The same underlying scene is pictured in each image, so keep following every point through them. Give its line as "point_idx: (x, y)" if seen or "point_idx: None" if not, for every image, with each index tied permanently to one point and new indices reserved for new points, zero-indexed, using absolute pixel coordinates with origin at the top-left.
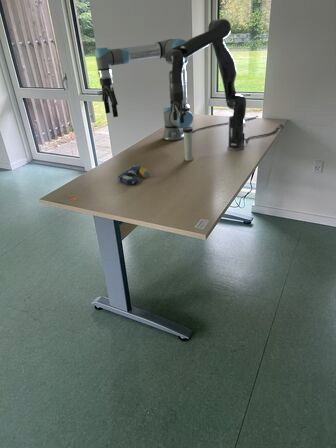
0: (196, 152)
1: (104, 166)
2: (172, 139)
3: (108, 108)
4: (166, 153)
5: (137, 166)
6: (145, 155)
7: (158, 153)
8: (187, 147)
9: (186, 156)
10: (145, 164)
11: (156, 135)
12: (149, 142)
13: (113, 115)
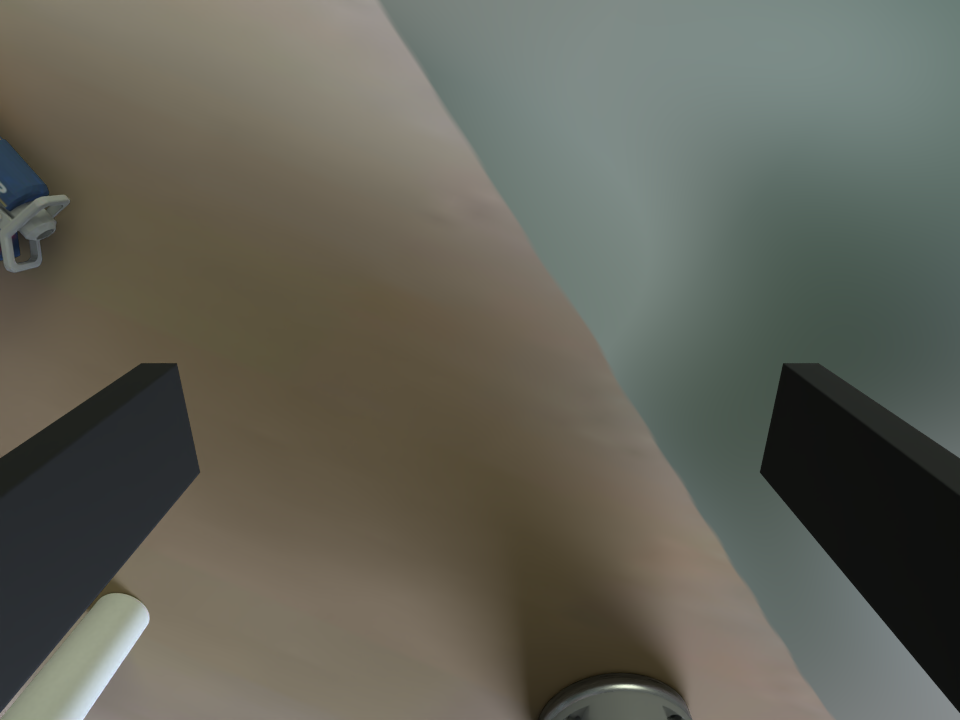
0: (225, 694)
1: (347, 9)
2: (553, 706)
3: (835, 521)
4: (328, 563)
5: (4, 243)
6: (388, 435)
7: (366, 524)
8: (29, 684)
9: (87, 617)
10: (183, 351)
11: (772, 676)
12: (662, 578)
13: (121, 382)
